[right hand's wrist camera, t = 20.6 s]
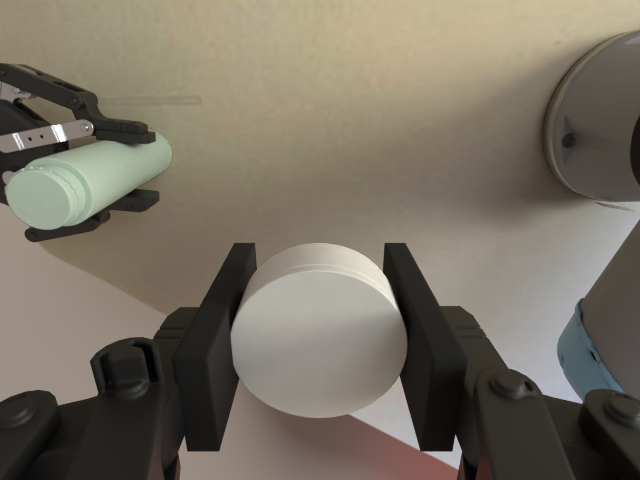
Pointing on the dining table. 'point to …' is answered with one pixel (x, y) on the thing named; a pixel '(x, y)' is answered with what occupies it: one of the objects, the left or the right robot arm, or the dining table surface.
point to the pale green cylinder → (83, 180)
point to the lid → (318, 332)
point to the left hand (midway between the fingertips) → (153, 169)
